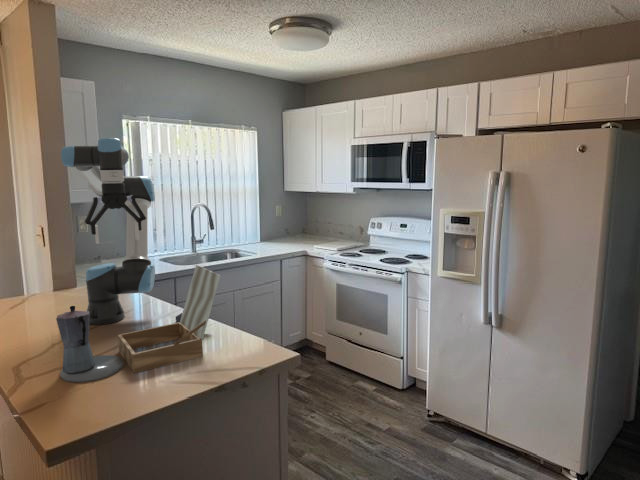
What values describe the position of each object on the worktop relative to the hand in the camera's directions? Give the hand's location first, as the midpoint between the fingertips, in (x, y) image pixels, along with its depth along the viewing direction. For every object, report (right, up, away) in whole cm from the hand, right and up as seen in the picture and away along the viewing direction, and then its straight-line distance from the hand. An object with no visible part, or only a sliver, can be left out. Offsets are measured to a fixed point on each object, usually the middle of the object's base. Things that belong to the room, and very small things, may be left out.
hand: (118, 241), depth 168 cm
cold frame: (+22, -38, -8) cm, 44 cm away
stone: (+23, -35, +11) cm, 44 cm away
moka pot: (-2, -40, -23) cm, 46 cm away
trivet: (+1, -40, -22) cm, 46 cm away
